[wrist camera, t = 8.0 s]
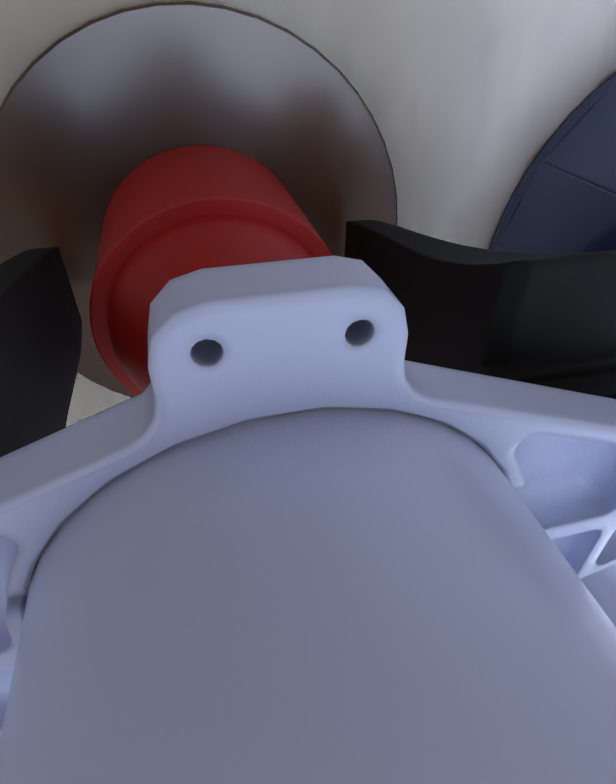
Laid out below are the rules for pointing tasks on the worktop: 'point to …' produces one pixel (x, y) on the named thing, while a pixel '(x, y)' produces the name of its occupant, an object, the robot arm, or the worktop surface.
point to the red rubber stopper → (184, 240)
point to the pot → (568, 187)
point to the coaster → (178, 130)
